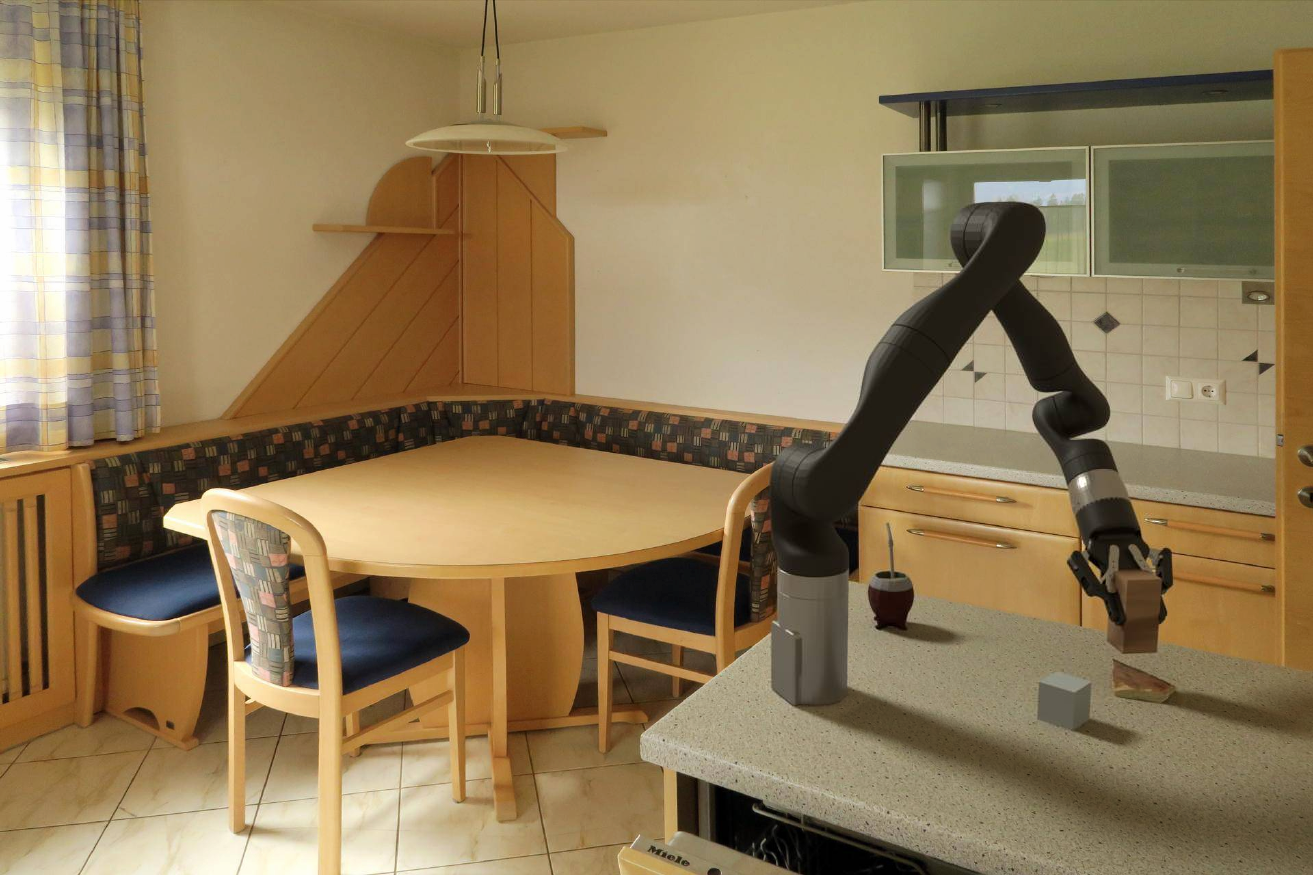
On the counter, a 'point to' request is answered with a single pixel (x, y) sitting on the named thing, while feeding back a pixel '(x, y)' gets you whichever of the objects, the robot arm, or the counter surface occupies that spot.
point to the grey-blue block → (1064, 700)
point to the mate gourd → (890, 595)
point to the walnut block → (1136, 612)
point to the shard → (1139, 684)
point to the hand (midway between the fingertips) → (1140, 622)
